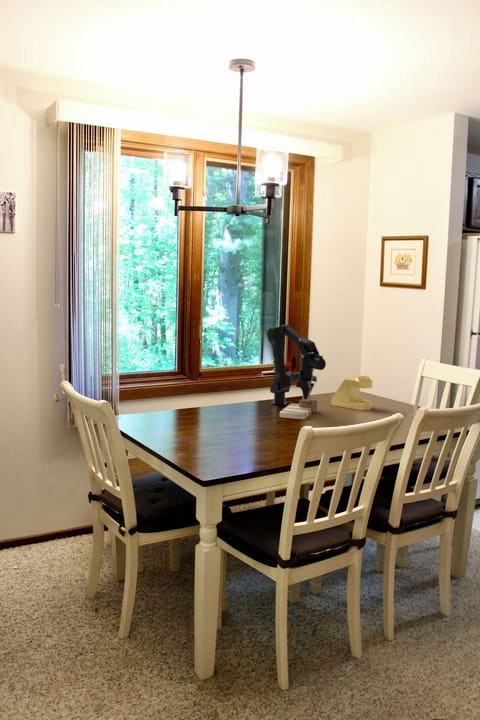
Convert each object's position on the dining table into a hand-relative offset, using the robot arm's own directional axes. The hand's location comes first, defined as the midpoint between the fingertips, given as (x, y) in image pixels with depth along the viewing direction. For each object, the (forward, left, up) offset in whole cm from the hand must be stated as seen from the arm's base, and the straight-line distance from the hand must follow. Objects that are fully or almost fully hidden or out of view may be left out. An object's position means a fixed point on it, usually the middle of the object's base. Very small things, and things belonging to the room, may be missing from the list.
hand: (306, 398), depth 324 cm
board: (+5, -3, -6) cm, 9 cm away
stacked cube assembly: (0, +1, -6) cm, 6 cm away
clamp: (-21, +19, -7) cm, 29 cm away
